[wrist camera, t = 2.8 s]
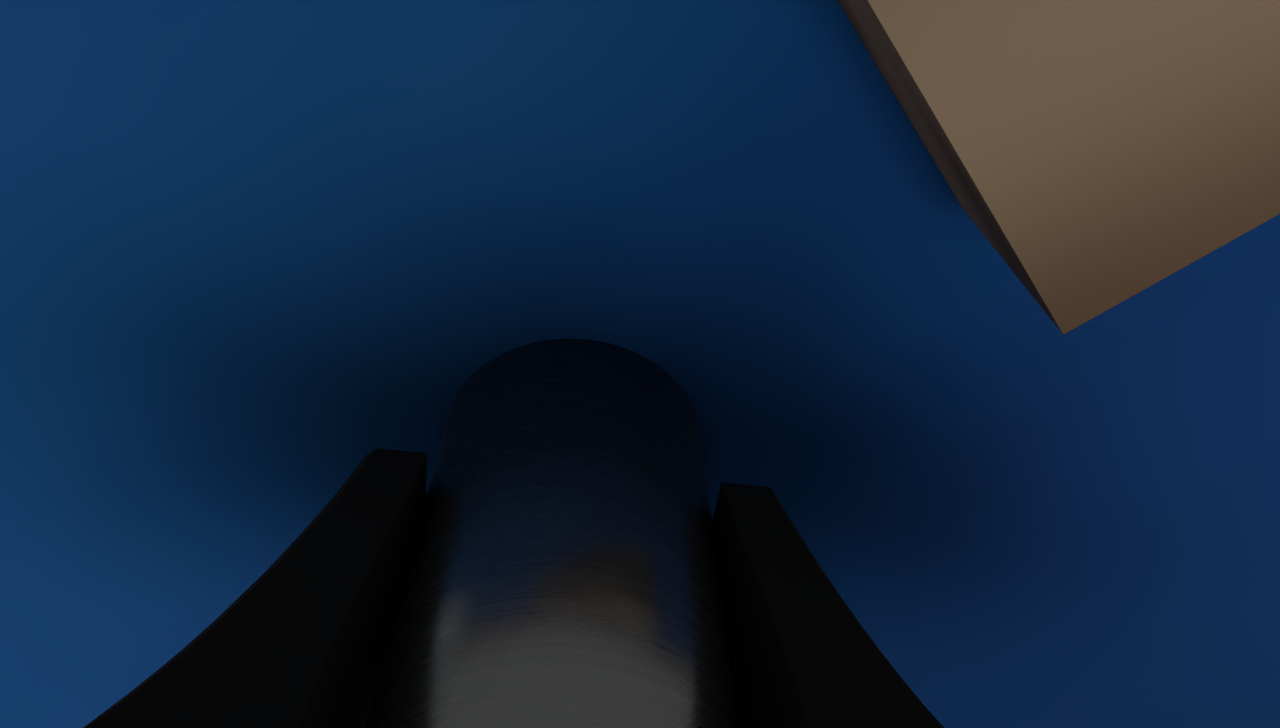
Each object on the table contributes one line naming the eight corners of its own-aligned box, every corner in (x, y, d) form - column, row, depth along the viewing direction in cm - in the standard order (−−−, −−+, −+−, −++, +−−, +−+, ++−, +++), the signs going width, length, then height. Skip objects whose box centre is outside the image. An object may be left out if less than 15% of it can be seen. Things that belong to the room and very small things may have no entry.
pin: (751, 466, 13) (858, 1023, 7) (555, 579, 14) (513, 1141, 8) (594, 290, 12) (570, 816, 6) (389, 430, 13) (192, 994, 7)
